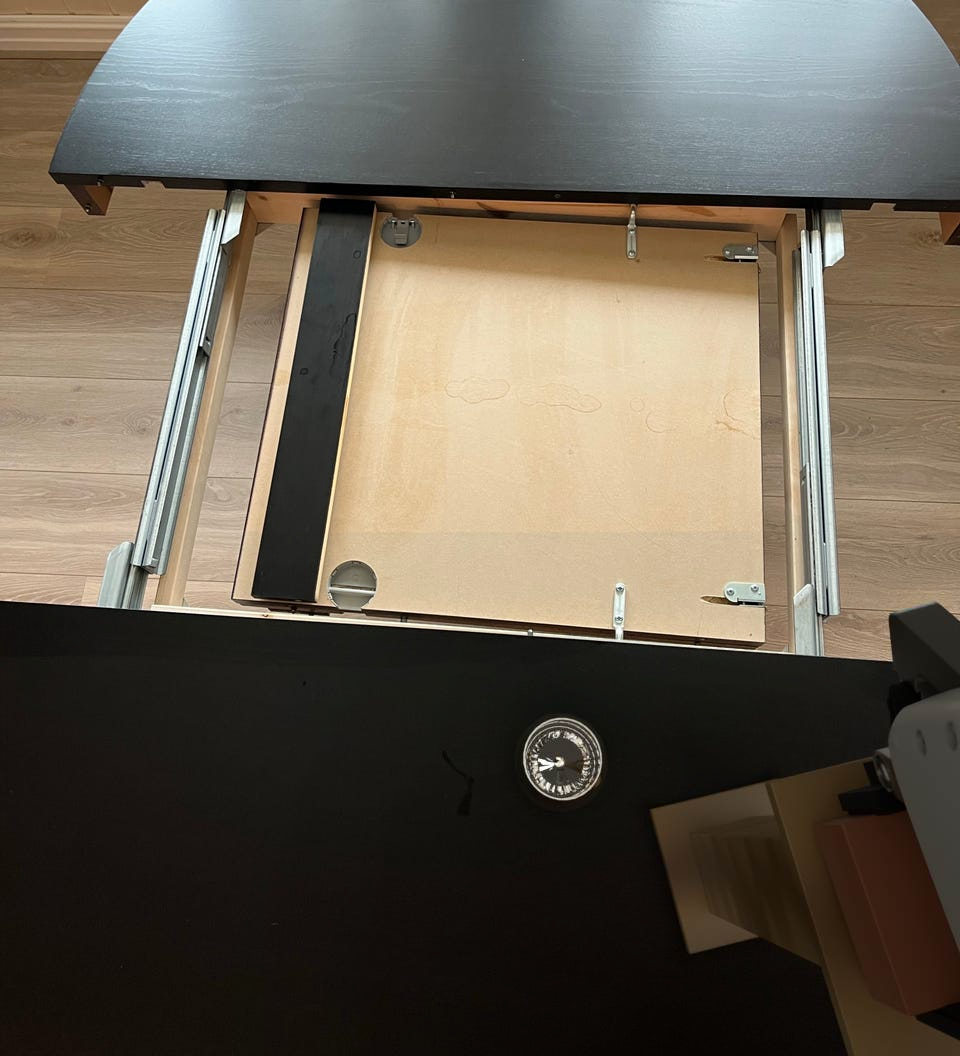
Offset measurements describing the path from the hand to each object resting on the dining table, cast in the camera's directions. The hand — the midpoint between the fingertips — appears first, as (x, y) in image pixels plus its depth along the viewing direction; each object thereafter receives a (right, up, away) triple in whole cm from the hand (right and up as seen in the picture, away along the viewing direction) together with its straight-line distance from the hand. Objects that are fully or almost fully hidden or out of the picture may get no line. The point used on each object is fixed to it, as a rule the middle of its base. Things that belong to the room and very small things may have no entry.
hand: (924, 888), depth 32 cm
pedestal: (+4, -16, +39) cm, 42 cm away
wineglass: (-8, -10, +42) cm, 44 cm away
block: (0, 0, 0) cm, 0 cm away
